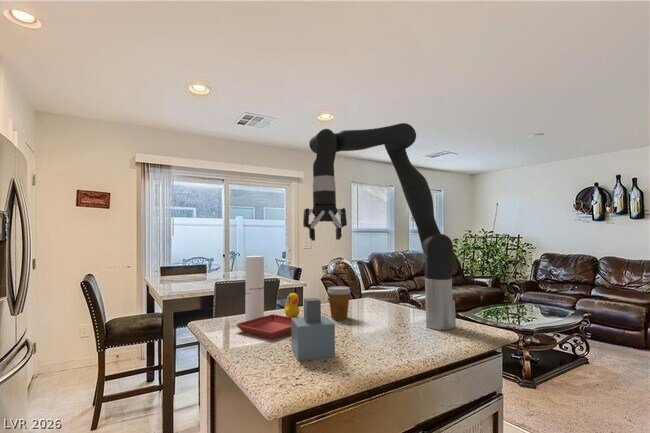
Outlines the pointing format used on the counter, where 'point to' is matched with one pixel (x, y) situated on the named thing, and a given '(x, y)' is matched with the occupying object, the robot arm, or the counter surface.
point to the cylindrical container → (254, 287)
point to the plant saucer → (267, 326)
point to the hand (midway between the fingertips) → (325, 240)
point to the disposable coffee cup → (339, 301)
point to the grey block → (312, 333)
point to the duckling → (292, 305)
